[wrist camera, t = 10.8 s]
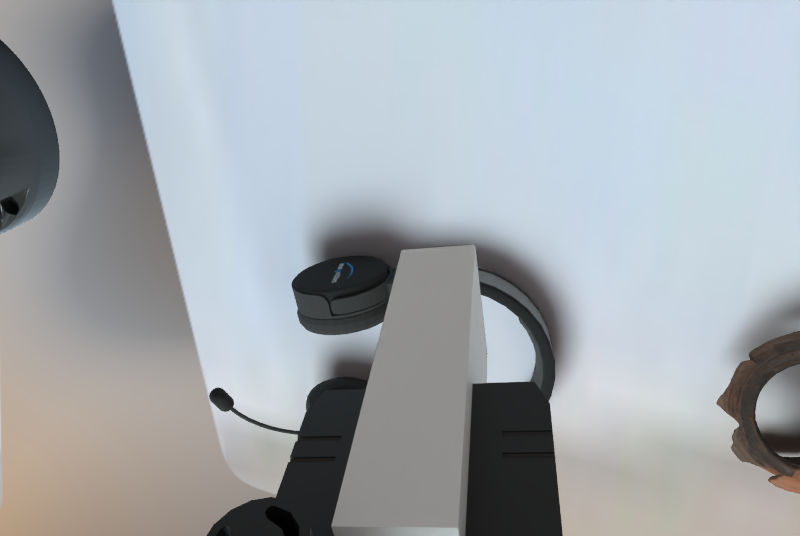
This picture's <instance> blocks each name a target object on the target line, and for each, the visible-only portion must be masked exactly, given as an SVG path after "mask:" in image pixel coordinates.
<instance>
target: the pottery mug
mask: <svg viewBox="0 0 800 536" xmlns="http://www.w3.org/2000/svg"><path fill="white" fill-rule="evenodd" d="M749 357H750V360H749V361H743V362H741V363H740V364H739V366H738V367H737V369H736V371H735V373H734V375H733V377H732V379H731V382H730V384H729V386H728V387H727V389H726V390H725V392H724V393H723V395H721V396H720V398H719V399H718V401H717V405H718V406H720V407H721V408H722V409H723V410H724V411H725V412H726V413H728V414H729V415H730V416H732V417H733V418H734V419H735V420H736V421H737V422H738V423H739V427H738V428H737V429H735V430H734V433H733V435H732V440H733V445H732V446H731V449H732V451H733V452H734V453H735V455H736V456H737V457H738V458H739V459H740V460H741V461H742V462H749V463H751V464H754V465H756V466H759V467H761V468H763V469H765V470H767V471H769V472H771V473H772V474H775V475H776V476H772V477H770V478H769V479H768V481H769V482H770V483H772V484H773V485H775V486H777V487H779V488H782V489H784V490H787V491H791V492H795V493H799V494H800V457H782V456H779V455H778V454H777V453H775V452H774V451H773V450H772V449H771V448H770V446H769V445H768V444H767V443H766V441H765V440H764V438H763V437H762V435H761V433H760V431H759V428H758V426H757V422H756V420H755V409H756V402H757V399H758V396H759V393H760V391H761V390H762V388H763V386H764V385H765V384H766V383H767V382H768V381H769V380H770V379H771V378H772V377H773V376H774V375H776V374H777V373H779V372H781V371H782V370H784V369H786V368H788V367H791V366H794V365H797V364H800V331H798V332H794V333H791V334H787V335H784V336H781V337H778V338H776V339H773V340H771V341H768V342H767V343H765V344H763V345H761V346H759V347H758V348H755V349H754V350H752V351H751V352H750V353H749Z"/></svg>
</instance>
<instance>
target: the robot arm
mask: <svg viewBox="0 0 800 536" xmlns="http://www.w3.org/2000/svg"><path fill="white" fill-rule="evenodd" d="M58 171H59V145H58V138H57V133H56V129H55V125H54V121H53V118H52V115H51V112H50V110H49V107H48V105H47V103H46V100H45V98H44V96H43V94H42V92H41V90H40V89H39V87H38V85H37V83H36V82H35V80H34V79H33V77H32V75H31V74H30V73H29V71H28V70H27V68H26V67H25V66H24V64H23V63H22V62H21V61H20V59H19V58H18V57H17V56H16V55H15V54H14V53H13V52H12V51H11V50H10V49H9V48H8V46H7V45H6V44H4V43H3V42H2V41H1V40H0V234H1V233H4V232H6V231H8V230H10V229H12V228H14V227H16V226H18V225H20V224H22V223H24V222H26V221H28V220H30V219H31V218H33V217H34V216H36V215H37V214H38V213H39V212H40V211H41V210H42V209H43V208H44V207H45V206H46V204H47V202H48V201H49V199H50V198H51V196H52V194H53V191H54V189H55V186H56V182H57V178H58ZM486 378H487V347H486V338H485V329H484V320H483V310H482V301H481V292H480V283H479V274H478V265H477V256H476V247H475V245H461V246H447V247H434V248H420V249H406V250H401V254H400V258H399V262H398V266H397V270H396V274H395V278H394V281H393V285H392V289H391V293H390V297H389V301H388V305H387V309H386V313H385V317H384V321H383V325H382V329H381V333H380V337H379V341H378V344H377V348H376V352H375V356H374V360H373V364H372V368H371V372H370V376H369V380H368V384H367V388H366V389H348V390H325V391H324V392H323V393H322V395H321V396H320V397H319V398H318V399H317V400H316V401H315V403H314V404H313V405H312V406H311V407H310V408H309V409H308V410H307V412H306V414H305V417H304V420H303V422H302V425H301V428H300V431H299V434H298V441H296V442H295V445H294V448H293V451H292V454H291V456H290V458H291V460H290V462H288V465H287V468H286V471H285V473H284V476H283V479H282V482H281V485H280V487H279V490H278V493H277V496H276V498H273V497H270V498H264V499H257V500H251V501H249V502H247V503H245V504H243V505H241V506H238V507H236V508H234V509H232V510H230V511H229V512H228V513H227V514H226V515H225V516H224V517H222V518H221V519H220V520H219V521H218V522H217V523H215V524H214V525H213V527H212V528H211V530H210V531H209V533H208V534H207V536H563V535H562V525H561V515H560V504H559V494H558V484H557V473H556V463H555V453H554V442H553V433H552V422H551V411H550V403H549V402H548V401H547V399H546V398H545V396H544V395H543V393H542V392H541V390H540V389H539V388H538V386H537V385H536V383H535V382H508V383H486Z"/></svg>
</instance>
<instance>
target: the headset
mask: <svg viewBox="0 0 800 536" xmlns="http://www.w3.org/2000/svg"><path fill="white" fill-rule="evenodd" d="M396 270H397V269H391V267H390V266H388V265H387V264H385V263H384V262H383V261H382V260H380V259H378V258H375V257H369V256H350V257H342V258H336V259H332V260H328V261H324V262H321V263H318V264H315V265H313V266H311V267H309V268H307V269H305V270H303V271H302V272H301V273H299V274H298V275H297V276H296V277H295V279H294V280H293V282H292V288H293V292H294V295H295V299H296V303H297V307H298V311H297V314H298V317H299V321H300V323H301V324H302V325H303V326H304V327H305V329H307V330H308V331H310V332H313V333H317V334H323V335H340V334H348V333H354V332H358V331H362V330H365V329H368V328H371V327H373V326H376V325H378V324H380V323H382V322H383V321H384V317H385V313H386V309H387V305H388V301H389V297H390V293H391V289H392V285H393V281H394V278H395V274H396ZM478 274H479V283H480V292H481V295H484V296H487V297H489V298H491V299H493V300H495V301H497V302H498V303H500V304H502V305H504V306H506V307H507V308H508V309H509V310H511V311H512V312H513V313H514V314H515V315H517V316H518V317H519V321H520V323H521V324H522V325H523V327H524V328H525V329H526V330H527V332H528V334H529V336H530V338H531V340H532V342H533V344H534V348H535V352H536V364H535V368H534V373H533V377H532V379H531V381H530V382H535V383H536V385H537V386H538V388H539V389H540V390H541V392H542V393H543V395H544V396H545V398H546V399H547V401H549V399H550V397H551V394H552V390H553V386H554V381H555V360H554V355H553V350H552V344H551V340H550V336H549V332H548V328H547V325H546V323H545V321H544V319H543V317H542V315H541V313H540V311H539V309H538V308H537V307H536V305H535V304H534V303H533V302H532V301H531V299H530V298H529V297H528V296H527V295H526V294H525V293H524V292H523V291H522V290H520V289H519V288H518V287H517V286H515V285H514V284H513V283H512V282H510V281H508V280H506V279H504V278H502V277H500V276H498V275H497V274H495V273H492V272H489V271H486V270H483V269H480V268H478ZM367 384H368V382H367V381H363V380H359V379H354V378H337V379H330V380H327V381H324V382H322V383H320V384H318V385H316V386H315V387H314V388H313V389H312V390H311V392H310V394H309V395H308V397H307V402H306V410H308V409H309V408H310V407H311V406H312V405H313V404H314V403H315V401H316V400H317V399H318V398H319V397H320V396H321V395H322V393H323V392H324V391H325V390H348V389H366V388H367ZM209 397H210V400H211V402H212V403H214V404H215V405H216V406H217V407H218V408H219V409H220V410H221V411H225V412H226V411H229V410H231V411H232V412H234V413H235V414H236V415H238V416H239V417H241V418H243V419H245V420H246V421H248V422H251V423H253V424H255V425H258V426H260V427H263V428H267V429H270V430H274V431H278V432H283V433H290V434H299V431H292V430H286V429H281V428H276V427H272V426H269V425H266V424H263V423H260V422H257V421H255V420H253V419H251V418H248V417H247V416H245V415H243V414H242V413H240V412H238V411H237V410H236V409H234V408H233V405H234V401H233V399H232V398H231V397H230V396H229V395H228V394H227V393H226V392H225V391H224V390H223V389H221V388H215V389H213V390H212V391H211V393H210V395H209Z"/></svg>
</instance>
